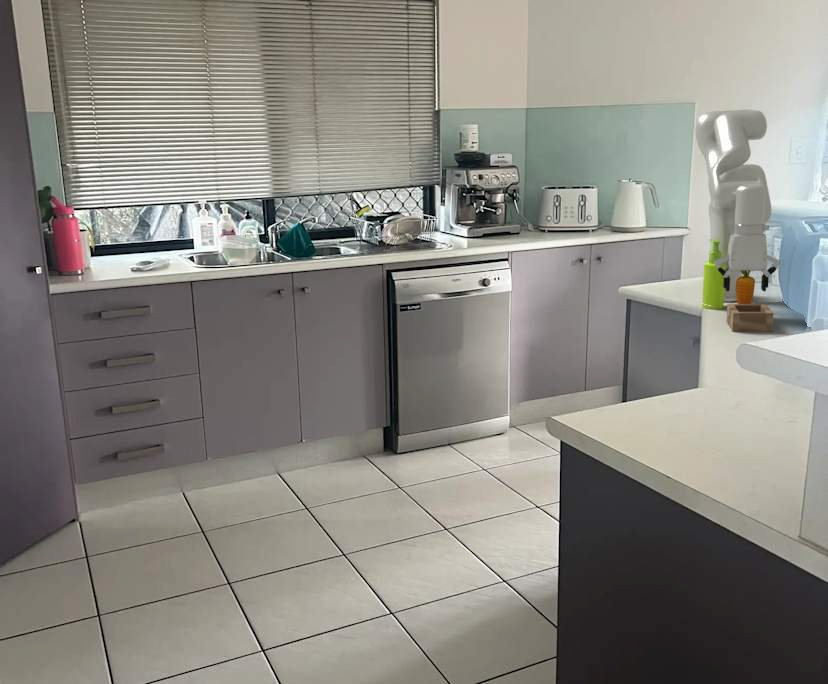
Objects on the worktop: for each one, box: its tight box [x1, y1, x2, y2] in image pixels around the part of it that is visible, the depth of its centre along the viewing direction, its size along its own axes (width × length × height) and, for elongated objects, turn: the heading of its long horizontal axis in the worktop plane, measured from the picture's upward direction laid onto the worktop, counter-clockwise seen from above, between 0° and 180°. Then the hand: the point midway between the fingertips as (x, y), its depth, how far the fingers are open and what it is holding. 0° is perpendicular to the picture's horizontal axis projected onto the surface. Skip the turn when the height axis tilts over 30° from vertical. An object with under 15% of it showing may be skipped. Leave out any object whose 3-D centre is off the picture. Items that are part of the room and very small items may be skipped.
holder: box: [726, 303, 774, 332], centre depth 227 cm, size 10×10×5 cm
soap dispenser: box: [701, 238, 725, 310], centre depth 246 cm, size 6×7×20 cm
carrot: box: [736, 271, 756, 304], centre depth 235 cm, size 5×5×15 cm
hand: (745, 290), depth 235 cm, fingers open, 9 cm apart
